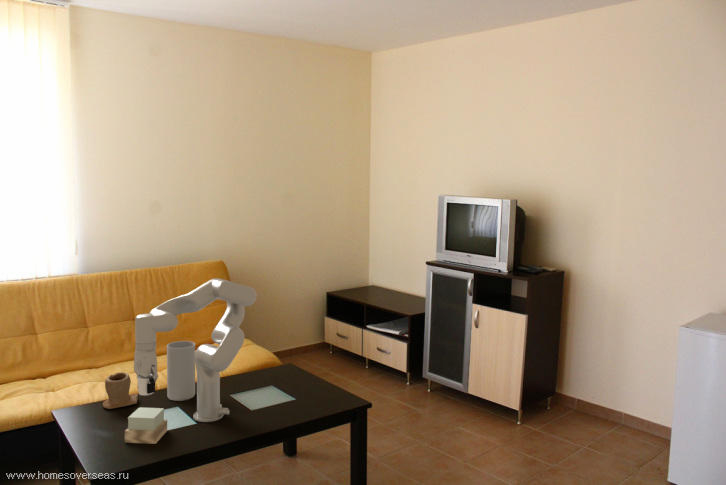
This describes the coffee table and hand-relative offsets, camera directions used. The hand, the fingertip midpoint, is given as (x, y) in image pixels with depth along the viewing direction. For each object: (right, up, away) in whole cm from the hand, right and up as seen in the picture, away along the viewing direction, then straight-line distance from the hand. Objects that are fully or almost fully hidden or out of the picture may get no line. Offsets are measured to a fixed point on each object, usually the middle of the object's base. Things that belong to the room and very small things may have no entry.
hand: (146, 390), depth 224 cm
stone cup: (-23, -16, +32) cm, 42 cm away
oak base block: (0, -19, +1) cm, 19 cm away
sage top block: (0, -14, +1) cm, 14 cm away
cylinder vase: (-1, -15, +45) cm, 47 cm away
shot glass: (0, -1, 0) cm, 1 cm away
